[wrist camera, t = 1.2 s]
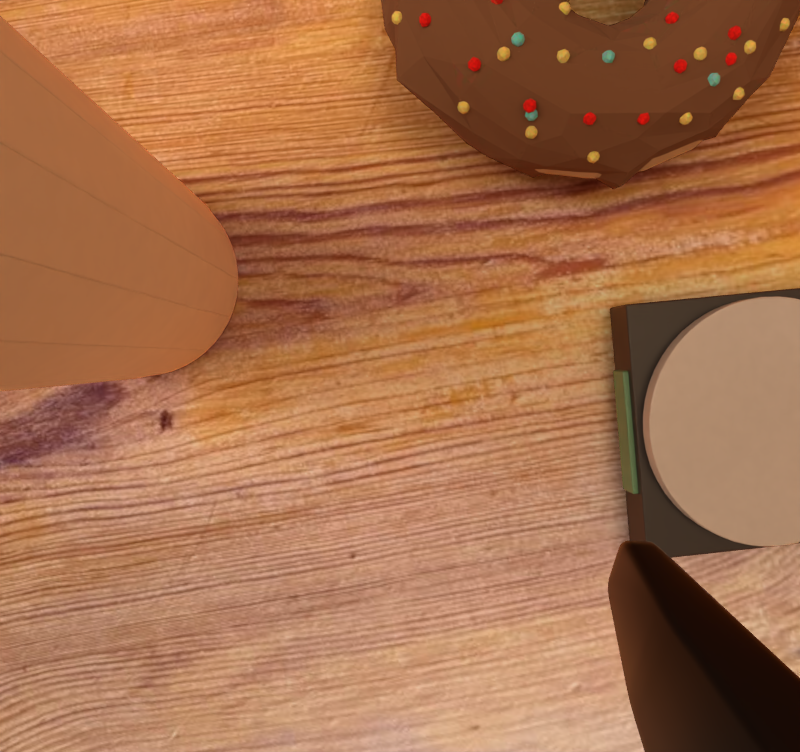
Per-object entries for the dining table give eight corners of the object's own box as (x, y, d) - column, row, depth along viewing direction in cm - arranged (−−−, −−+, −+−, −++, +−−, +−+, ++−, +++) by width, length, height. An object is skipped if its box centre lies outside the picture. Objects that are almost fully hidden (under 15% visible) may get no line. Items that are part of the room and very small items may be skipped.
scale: (624, 548, 25) (649, 566, 23) (603, 308, 24) (627, 303, 22) (861, 522, 25) (908, 538, 23) (844, 285, 25) (890, 278, 23)
